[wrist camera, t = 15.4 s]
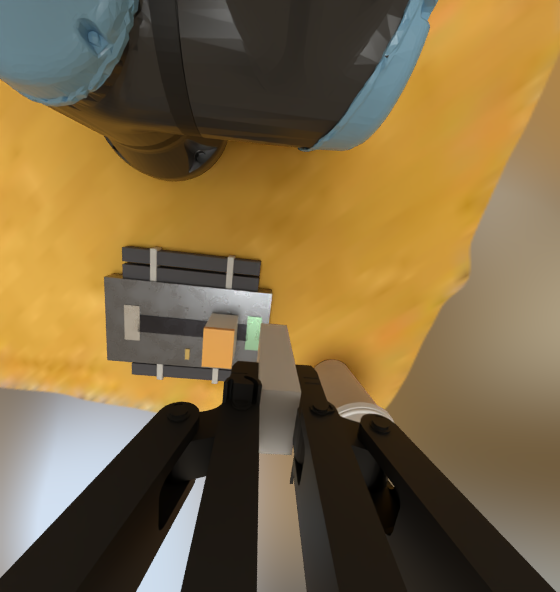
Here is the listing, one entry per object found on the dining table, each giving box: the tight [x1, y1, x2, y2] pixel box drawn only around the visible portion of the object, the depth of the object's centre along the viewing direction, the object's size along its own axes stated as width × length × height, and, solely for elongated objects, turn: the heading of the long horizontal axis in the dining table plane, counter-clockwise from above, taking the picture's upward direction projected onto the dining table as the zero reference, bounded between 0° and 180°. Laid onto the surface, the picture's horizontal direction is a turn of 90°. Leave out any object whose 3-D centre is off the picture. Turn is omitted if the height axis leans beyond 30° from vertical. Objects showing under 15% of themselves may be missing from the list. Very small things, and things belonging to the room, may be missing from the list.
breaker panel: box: [104, 273, 272, 370], centre depth 40 cm, size 12×22×3 cm, turn 83°
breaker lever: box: [202, 313, 238, 369], centre depth 36 cm, size 5×4×6 cm
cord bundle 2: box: [132, 362, 231, 384], centre depth 42 cm, size 3×16×2 cm, turn 83°
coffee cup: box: [314, 360, 394, 422], centre depth 38 cm, size 10×10×15 cm
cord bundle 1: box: [122, 246, 261, 291], centre depth 38 cm, size 5×18×2 cm, turn 83°
